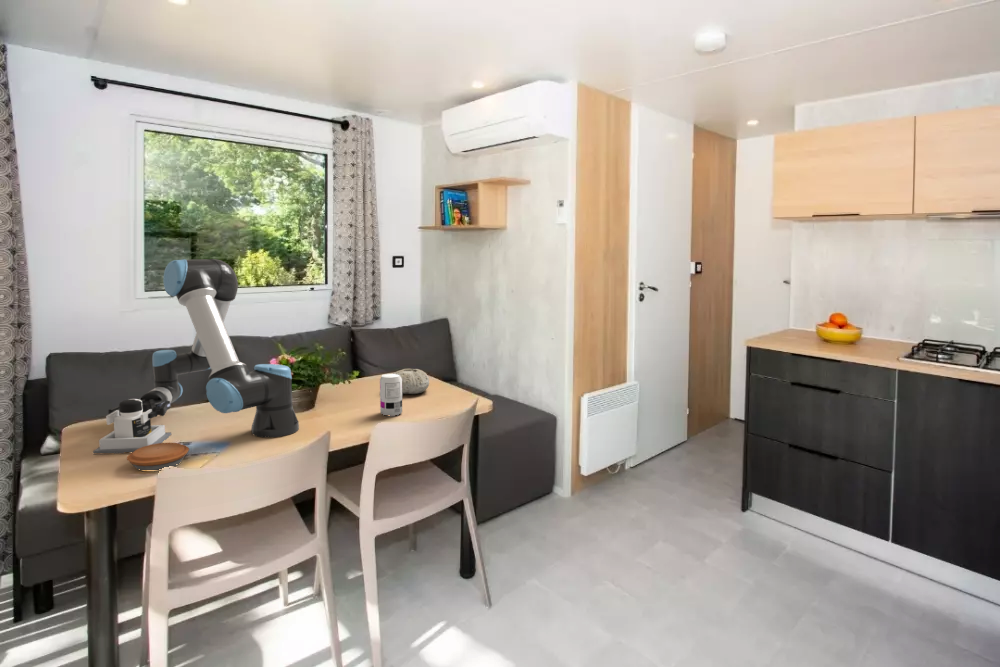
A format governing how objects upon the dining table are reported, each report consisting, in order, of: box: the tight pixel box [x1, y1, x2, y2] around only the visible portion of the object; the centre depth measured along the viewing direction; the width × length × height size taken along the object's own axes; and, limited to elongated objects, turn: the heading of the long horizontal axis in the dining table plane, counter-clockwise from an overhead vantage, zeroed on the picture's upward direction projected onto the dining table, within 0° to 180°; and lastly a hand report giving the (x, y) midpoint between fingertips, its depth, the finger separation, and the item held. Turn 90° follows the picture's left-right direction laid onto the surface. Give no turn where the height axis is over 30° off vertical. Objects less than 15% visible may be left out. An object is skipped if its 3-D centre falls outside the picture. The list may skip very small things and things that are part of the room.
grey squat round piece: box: [392, 368, 430, 395], centre depth 251 cm, size 18×18×10 cm
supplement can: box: [379, 373, 403, 417], centre depth 218 cm, size 8×8×15 cm
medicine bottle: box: [113, 398, 152, 438], centre depth 181 cm, size 7×7×12 cm
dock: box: [92, 424, 172, 454], centre depth 182 cm, size 16×16×4 cm
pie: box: [126, 442, 190, 470], centre depth 166 cm, size 16×16×5 cm
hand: (125, 419), depth 177 cm, fingers closed on medicine bottle, 9 cm apart
